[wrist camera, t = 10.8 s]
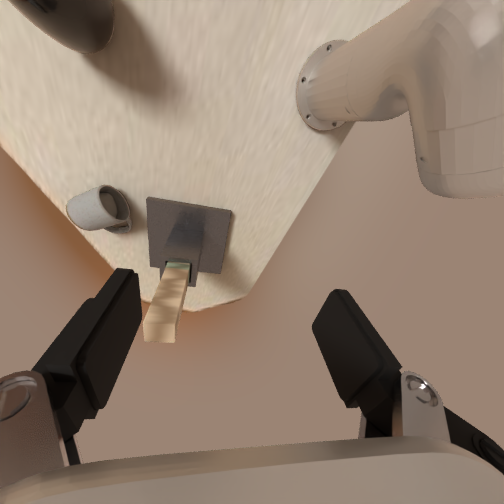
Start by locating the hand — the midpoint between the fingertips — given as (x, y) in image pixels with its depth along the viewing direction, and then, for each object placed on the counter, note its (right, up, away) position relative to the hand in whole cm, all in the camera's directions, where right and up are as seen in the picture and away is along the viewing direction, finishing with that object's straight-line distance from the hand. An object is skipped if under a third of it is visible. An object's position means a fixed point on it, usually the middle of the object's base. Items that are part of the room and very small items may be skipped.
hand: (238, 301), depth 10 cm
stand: (-15, +6, +40) cm, 43 cm away
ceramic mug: (-30, +12, +35) cm, 47 cm away
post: (-14, +1, +33) cm, 36 cm away
